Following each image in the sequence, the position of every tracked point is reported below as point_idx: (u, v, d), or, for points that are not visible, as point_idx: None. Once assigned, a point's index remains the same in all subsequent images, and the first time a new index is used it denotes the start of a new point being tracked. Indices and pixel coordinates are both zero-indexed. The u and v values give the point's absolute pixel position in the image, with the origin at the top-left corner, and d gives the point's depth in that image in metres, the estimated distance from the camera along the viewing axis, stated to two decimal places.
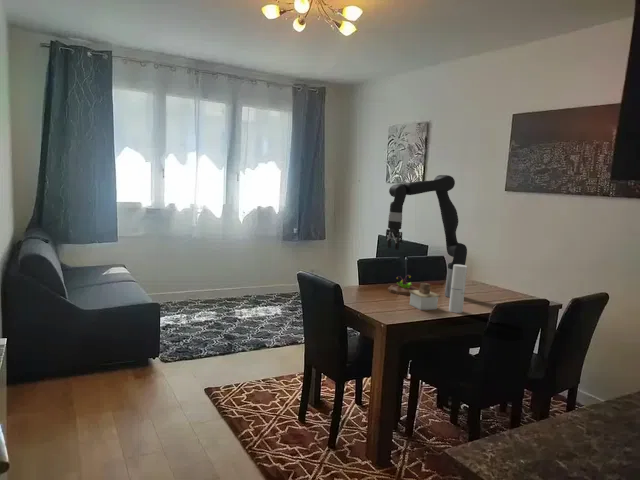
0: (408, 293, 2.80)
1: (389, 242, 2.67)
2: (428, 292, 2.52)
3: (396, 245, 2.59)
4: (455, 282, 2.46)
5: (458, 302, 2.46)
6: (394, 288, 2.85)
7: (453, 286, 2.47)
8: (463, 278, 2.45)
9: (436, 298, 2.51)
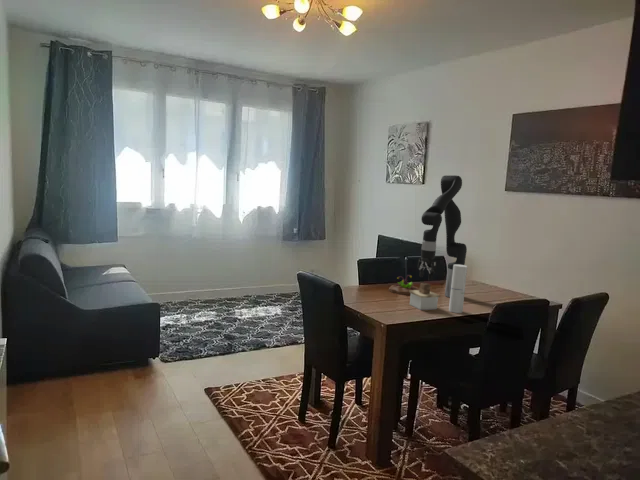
0: (409, 293, 2.80)
1: (421, 271, 2.56)
2: (428, 292, 2.52)
3: (430, 275, 2.48)
4: (455, 282, 2.46)
5: (458, 302, 2.46)
6: (395, 288, 2.85)
7: (453, 286, 2.47)
8: (463, 278, 2.45)
9: (436, 298, 2.51)
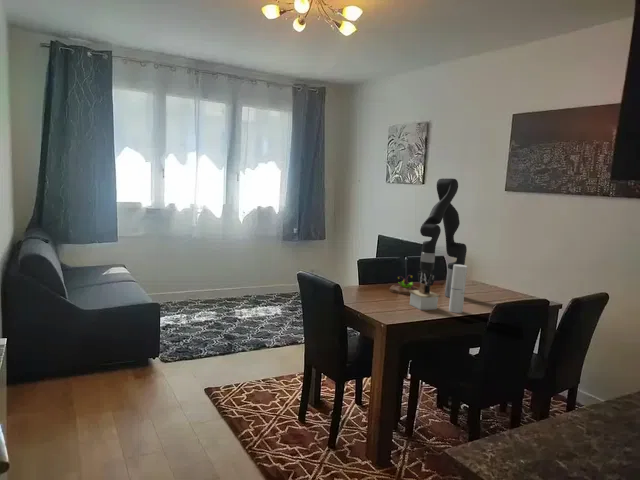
0: (410, 293, 2.80)
1: None
2: None
3: (426, 288, 2.50)
4: (455, 282, 2.46)
5: (458, 302, 2.46)
6: (396, 288, 2.85)
7: (453, 286, 2.47)
8: (463, 278, 2.45)
9: (436, 298, 2.51)
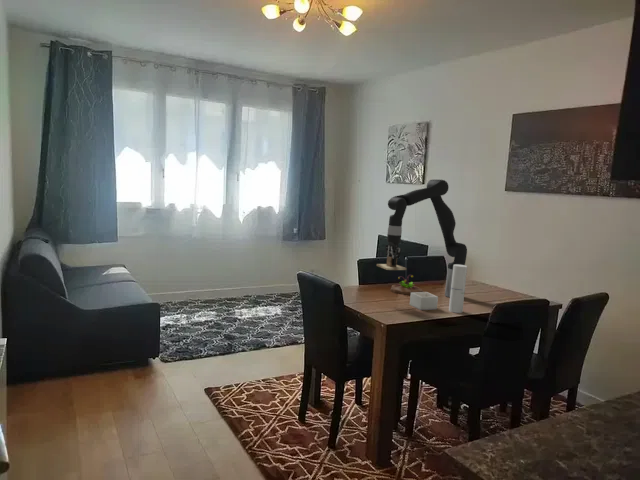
0: None
1: None
2: None
3: (393, 261, 2.53)
4: (455, 282, 2.46)
5: (458, 302, 2.46)
6: (397, 288, 2.85)
7: (453, 286, 2.47)
8: (463, 278, 2.45)
9: (436, 298, 2.51)
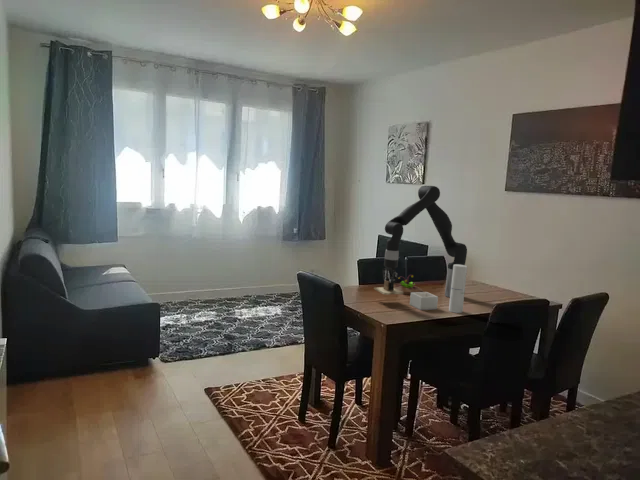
0: None
1: None
2: None
3: (390, 285, 2.55)
4: (455, 282, 2.46)
5: (458, 302, 2.46)
6: (399, 288, 2.85)
7: (453, 286, 2.47)
8: (463, 278, 2.45)
9: (436, 298, 2.51)
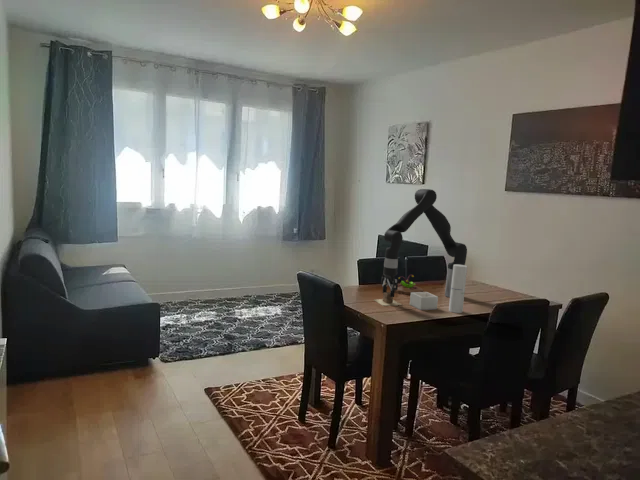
0: None
1: (384, 288, 2.62)
2: (391, 301, 2.57)
3: (391, 292, 2.53)
4: (455, 282, 2.46)
5: (458, 302, 2.46)
6: (400, 288, 2.85)
7: (453, 286, 2.47)
8: (463, 278, 2.45)
9: (436, 298, 2.51)
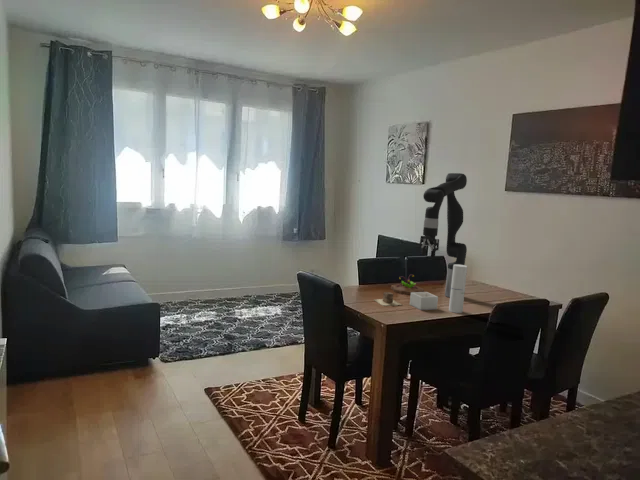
0: None
1: (424, 249, 2.54)
2: (391, 301, 2.57)
3: (432, 253, 2.46)
4: (455, 282, 2.46)
5: (458, 302, 2.46)
6: (402, 289, 2.84)
7: (453, 286, 2.47)
8: (463, 278, 2.45)
9: (436, 298, 2.51)
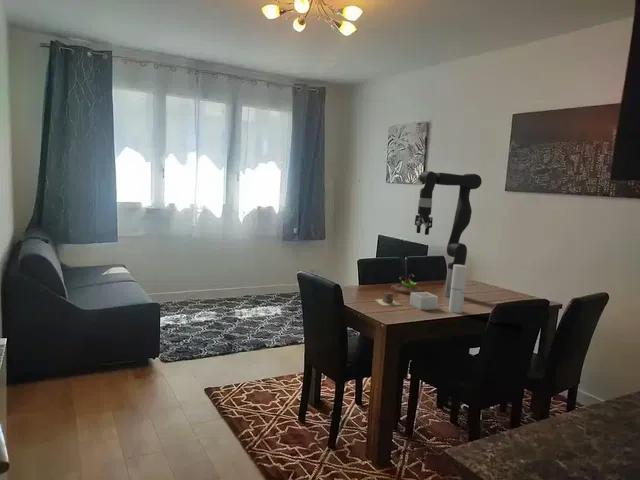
0: None
1: (418, 228, 2.74)
2: (391, 301, 2.57)
3: (426, 230, 2.65)
4: (455, 282, 2.46)
5: (458, 302, 2.46)
6: (404, 289, 2.84)
7: (453, 286, 2.47)
8: (463, 278, 2.45)
9: (436, 298, 2.51)
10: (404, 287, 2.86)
